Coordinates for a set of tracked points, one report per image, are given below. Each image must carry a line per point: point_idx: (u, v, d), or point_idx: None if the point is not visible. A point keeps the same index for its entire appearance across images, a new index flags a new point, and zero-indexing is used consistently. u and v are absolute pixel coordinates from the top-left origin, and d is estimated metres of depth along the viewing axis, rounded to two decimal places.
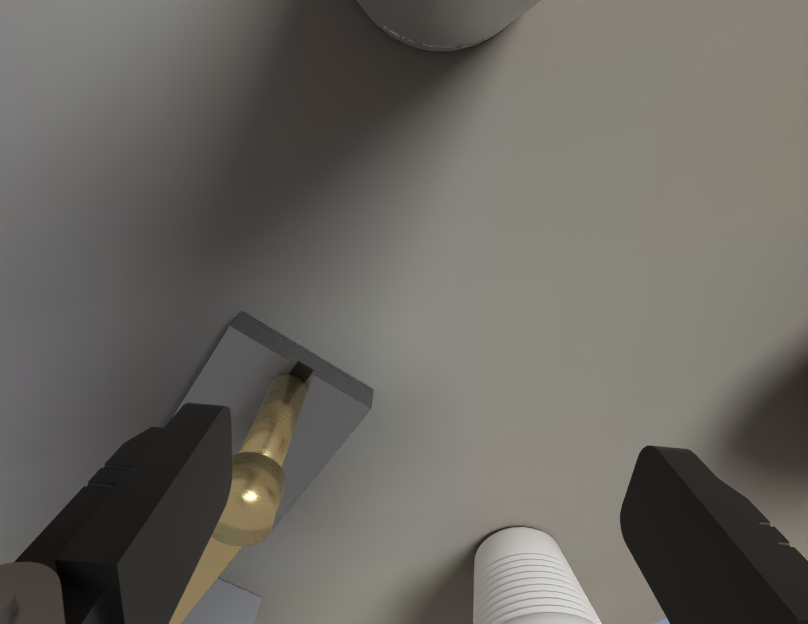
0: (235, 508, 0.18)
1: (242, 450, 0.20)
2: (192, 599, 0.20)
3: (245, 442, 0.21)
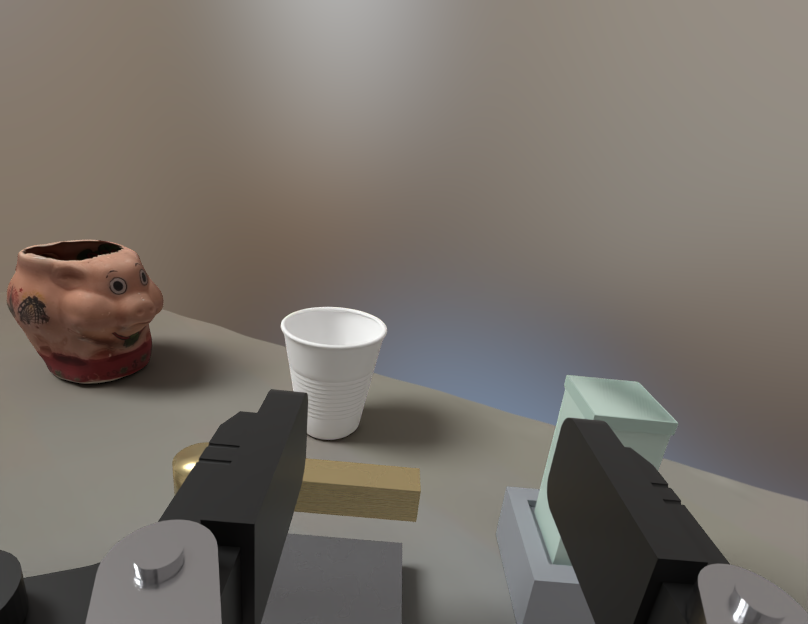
0: (189, 461, 0.24)
1: None
2: None
3: None
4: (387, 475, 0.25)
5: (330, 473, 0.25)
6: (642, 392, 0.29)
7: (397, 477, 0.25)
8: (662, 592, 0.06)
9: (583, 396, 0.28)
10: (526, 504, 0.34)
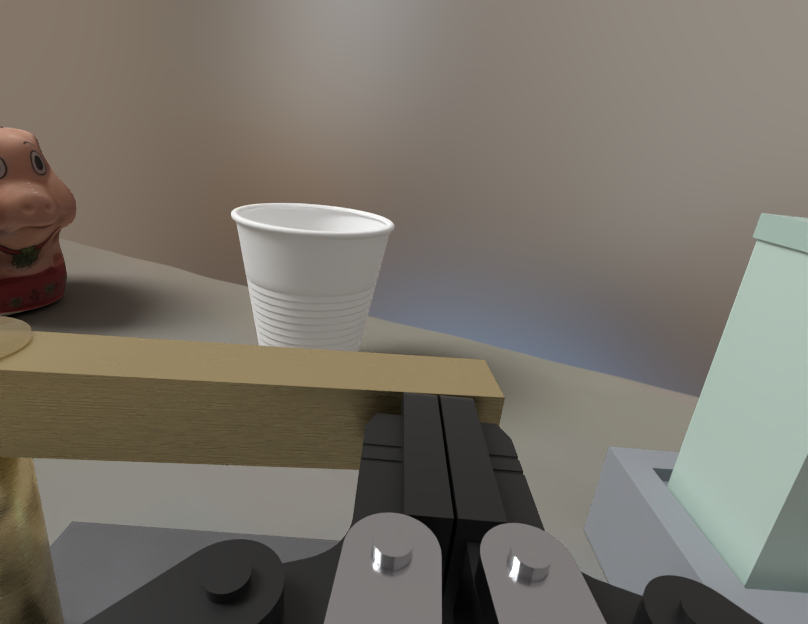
0: None
1: None
2: (218, 346, 0.11)
3: None
4: (418, 370, 0.11)
5: (282, 367, 0.10)
6: None
7: (442, 373, 0.11)
8: (467, 551, 0.07)
9: None
10: (653, 475, 0.19)
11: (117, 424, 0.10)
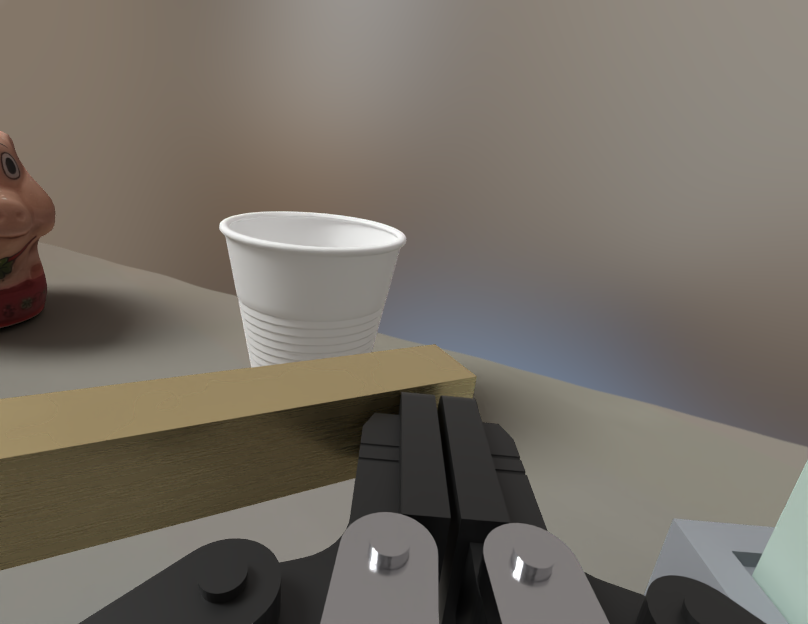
0: None
1: None
2: (162, 384, 0.09)
3: None
4: (388, 367, 0.11)
5: (254, 391, 0.09)
6: None
7: (411, 365, 0.11)
8: (471, 551, 0.07)
9: None
10: (735, 562, 0.15)
11: (59, 510, 0.07)
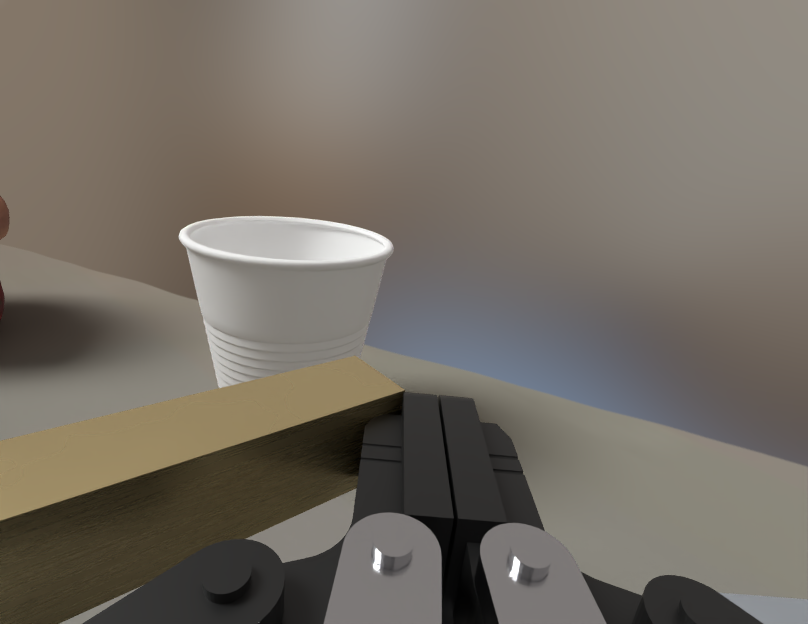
0: None
1: None
2: None
3: None
4: (304, 389, 0.09)
5: (133, 444, 0.07)
6: None
7: (330, 384, 0.10)
8: (467, 551, 0.07)
9: None
10: None
11: None
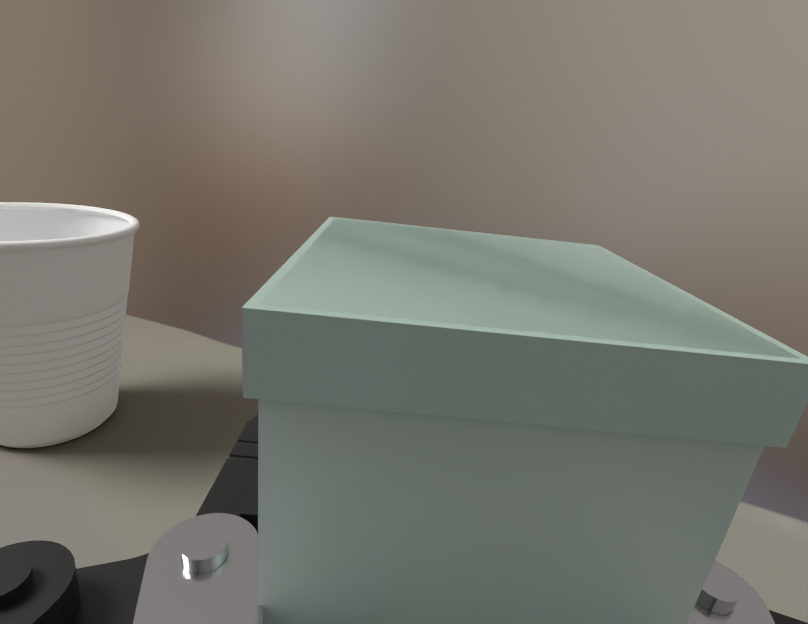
0: None
1: None
2: None
3: None
4: None
5: None
6: (608, 262, 0.07)
7: None
8: None
9: (306, 251, 0.06)
10: None
11: None
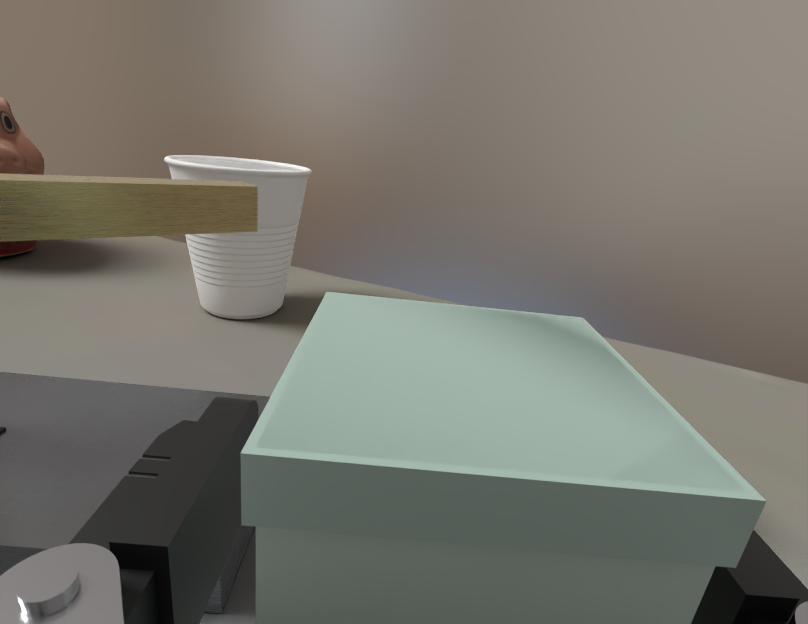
0: None
1: None
2: (80, 176, 0.18)
3: None
4: (209, 182, 0.20)
5: (132, 180, 0.18)
6: (588, 347, 0.07)
7: (222, 183, 0.21)
8: None
9: (301, 355, 0.06)
10: None
11: (38, 214, 0.16)
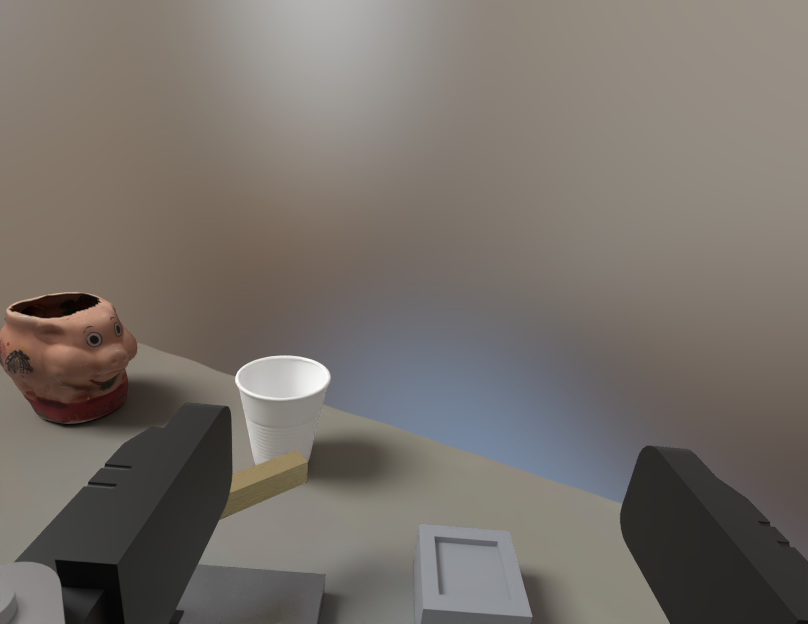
0: None
1: None
2: None
3: None
4: (281, 462, 0.37)
5: (246, 478, 0.35)
6: None
7: (288, 460, 0.38)
8: None
9: None
10: (432, 540, 0.40)
11: None
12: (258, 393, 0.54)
